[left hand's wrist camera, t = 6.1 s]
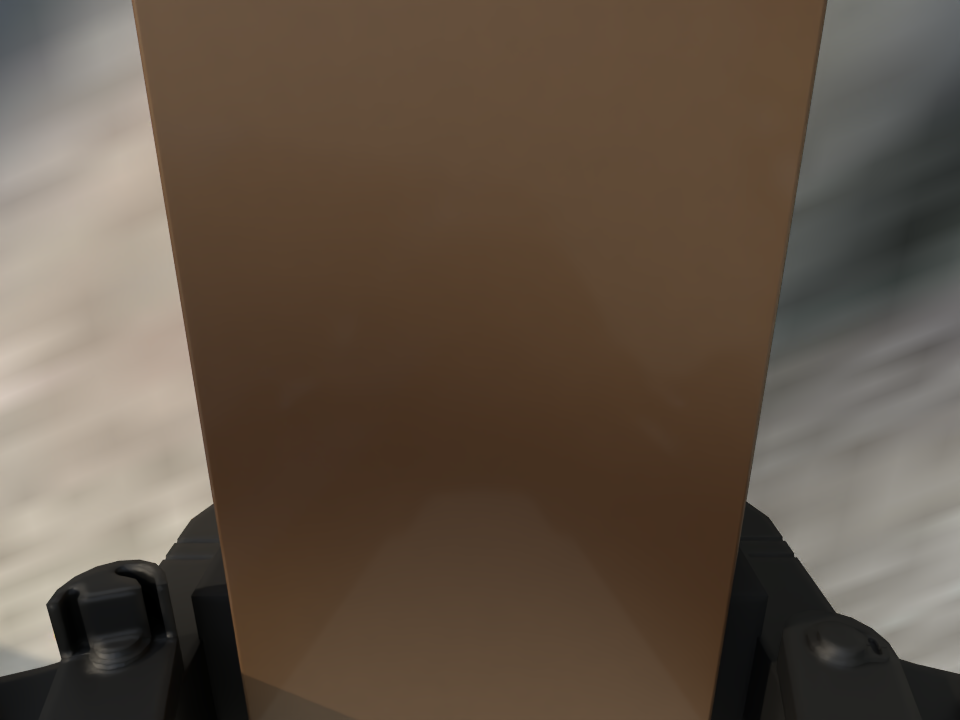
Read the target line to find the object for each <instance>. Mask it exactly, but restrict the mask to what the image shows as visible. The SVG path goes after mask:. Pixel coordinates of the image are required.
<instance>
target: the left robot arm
mask: <svg viewBox="0 0 960 720" xmlns="http://www.w3.org/2000/svg"><path fill="white" fill-rule="evenodd" d="M177 540H178V541H177V543H174V545H173V546H172V548H171V549H170V551H169V552H168V553H167V555H166V560H163V561H162V562H161V563H160V565H159V566H158V565H157V564H156V563H152V562H147V561H143V560H125V561H116V562H112V563H109V564H105V565H101V566H97V567H95V568H93V569H90V570H88V571H86V572H84V573H82V574H80V575H78V576H75V577H74V578H72V579H71V580H70V581H68V582H67V583H66V584H64V585H63V586H62V587H60V588H59V589H58V590H57V591H56V592H55V593H54V595H53V596H52V597H51V599H50V600H49V601H48V603H47V604H46V606H47V609H48V613H49V616H50V620H51V623H52V627H53V631H54V634H55V638H56V641H57V645H58V648H59V652H60V655H61V661H60V662H58V663H55V664H52V665H48V666H45V667H41V668H37V669H32V670H28V671H24V672H19V673H15V674H11V675H7V676H2V677H0V720H249V718H248V712H247V706H246V700H245V694H244V688H243V681H242V675H241V669H240V663H239V657H238V651H237V644H236V638H235V632H234V626H233V620H232V614H231V608H230V601H229V595H228V589H227V583H226V577H225V571H224V565H223V558H222V552H221V546H220V540H219V534H218V528H217V522H216V515H215V509H214V504H212V505H211V506H210V507H208V508H207V509H205V510H204V511H203V512H201V513H200V514H198V515H197V516H196V517H194V518H193V519H191V521H190V522H189V524H188V525H187V526H186V528H185V529H184V531H183V532H182V534H181V535H180V536H179V538H178V539H177ZM711 720H960V674H957V673H952V672H948V671H944V670H939V669H935V668H931V667H927V666H922V665H918V664H914V663H911V662H908V661H904V660H901V659H899V658H898V656H897V655H896V653H895V652H894V650H893V649H892V647H891V645H890V644H889V642H887V641H886V640H885V639H884V638H883V637H882V636H880V635H879V634H878V633H877V632H876V631H874V630H873V629H872V628H870V627H868V626H866V625H865V624H863V623H861V622H859V621H857V620H855V619H853V618H851V617H848V616H844V615H841V614H838V613H836V612H835V611H834V609H833V608H832V606H831V605H830V604H829V602H828V601H827V599H826V598H825V596H824V595H823V594H822V592H821V591H820V589H819V588H818V587H817V585H816V584H815V582H814V581H813V579H812V578H811V577H810V575H809V574H808V572H807V571H806V570H805V568H804V567H803V565H802V564H801V563H800V561H799V560H798V558H795V557H794V553H793V551H792V550H791V548H790V547H789V546H788V544H787V543H786V541H783V539H782V536H781V534H780V533H779V531H778V530H777V529H776V527H775V526H774V524H773V523H772V521H771V520H770V519H769V517H767V516H766V515H765V514H763V513H762V512H760V511H759V510H757V509H756V508H755V507H753V506H752V505H750V504H749V503H748V502H746V505H745V512H744V518H743V524H742V530H741V536H740V542H739V548H738V555H737V561H736V567H735V573H734V579H733V585H732V592H731V598H730V604H729V610H728V616H727V622H726V629H725V635H724V641H723V647H722V653H721V659H720V666H719V672H718V678H717V684H716V690H715V696H714V703H713V709H712V715H711Z"/></svg>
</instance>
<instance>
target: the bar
mask: <svg viewBox="0 0 960 720" xmlns="http://www.w3.org/2000/svg"><path fill="white" fill-rule="evenodd" d="M132 5H133V11H134V18H135V24H136V30H137V36H138V42H139V48H140V54H141V61H142V67H143V73H144V79H145V85H146V91H147V97H148V104H149V110H150V116H151V122H152V128H153V134H154V140H155V147H156V153H157V159H158V165H159V171H160V177H161V184H162V190H163V196H164V202H165V208H166V214H167V220H168V227H169V233H170V239H171V245H172V251H173V257H174V263H175V270H176V276H177V282H178V288H179V294H180V300H181V306H182V313H183V319H184V325H185V331H186V337H187V343H188V349H189V356H190V362H191V368H192V374H193V380H194V386H195V392H196V399H197V405H198V411H199V417H200V423H201V429H202V436H203V442H204V448H205V454H206V460H207V466H208V472H209V479H210V485H211V491H212V497H213V503H214V509H215V515H216V522H217V528H218V534H219V540H220V546H221V552H222V558H223V565H224V571H225V577H226V583H227V589H228V595H229V601H230V608H231V614H232V620H233V626H234V632H235V638H236V644H237V651H238V657H239V663H240V669H241V675H242V681H243V688H244V694H245V700H246V706H247V712H248V718H249V720H711V715H712V709H713V703H714V696H715V690H716V684H717V678H718V672H719V666H720V659H721V653H722V647H723V641H724V635H725V629H726V622H727V616H728V610H729V604H730V598H731V592H732V585H733V579H734V573H735V567H736V561H737V555H738V548H739V542H740V536H741V530H742V524H743V518H744V512H745V505H746V499H747V493H748V487H749V481H750V475H751V468H752V462H753V456H754V450H755V444H756V438H757V431H758V425H759V419H760V413H761V407H762V401H763V394H764V388H765V382H766V376H767V370H768V364H769V357H770V351H771V345H772V339H773V333H774V327H775V320H776V314H777V308H778V302H779V296H780V290H781V284H782V277H783V271H784V265H785V259H786V253H787V247H788V240H789V234H790V228H791V222H792V216H793V210H794V203H795V197H796V191H797V185H798V179H799V173H800V166H801V160H802V154H803V148H804V142H805V136H806V129H807V123H808V117H809V111H810V105H811V99H812V93H813V86H814V80H815V74H816V68H817V62H818V56H819V49H820V43H821V37H822V31H823V25H824V19H825V12H826V6H827V0H132Z"/></svg>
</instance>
